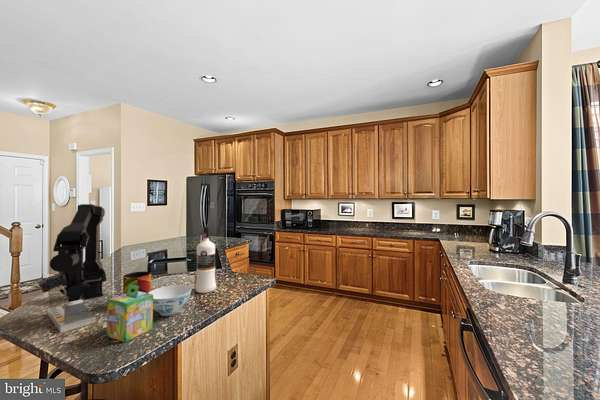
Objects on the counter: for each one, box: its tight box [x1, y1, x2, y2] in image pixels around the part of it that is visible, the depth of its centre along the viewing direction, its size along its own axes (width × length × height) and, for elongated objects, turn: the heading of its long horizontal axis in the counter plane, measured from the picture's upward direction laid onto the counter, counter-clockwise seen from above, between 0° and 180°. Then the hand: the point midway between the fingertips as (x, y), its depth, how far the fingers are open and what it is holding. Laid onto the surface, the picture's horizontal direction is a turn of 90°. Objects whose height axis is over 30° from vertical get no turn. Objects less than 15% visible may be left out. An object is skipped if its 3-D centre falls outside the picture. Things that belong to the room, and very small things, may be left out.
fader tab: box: [63, 298, 86, 319], centre depth 88 cm, size 5×3×5 cm, turn 142°
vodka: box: [194, 226, 217, 294], centre depth 120 cm, size 9×9×30 cm
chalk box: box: [106, 285, 154, 343], centre depth 81 cm, size 9×9×15 cm
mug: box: [122, 271, 152, 295], centre depth 106 cm, size 10×14×12 cm
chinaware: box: [149, 284, 192, 317], centre depth 96 cm, size 15×15×8 cm
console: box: [47, 304, 97, 333], centre depth 91 cm, size 9×22×4 cm, turn 52°
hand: (72, 309), depth 90 cm, fingers closed
